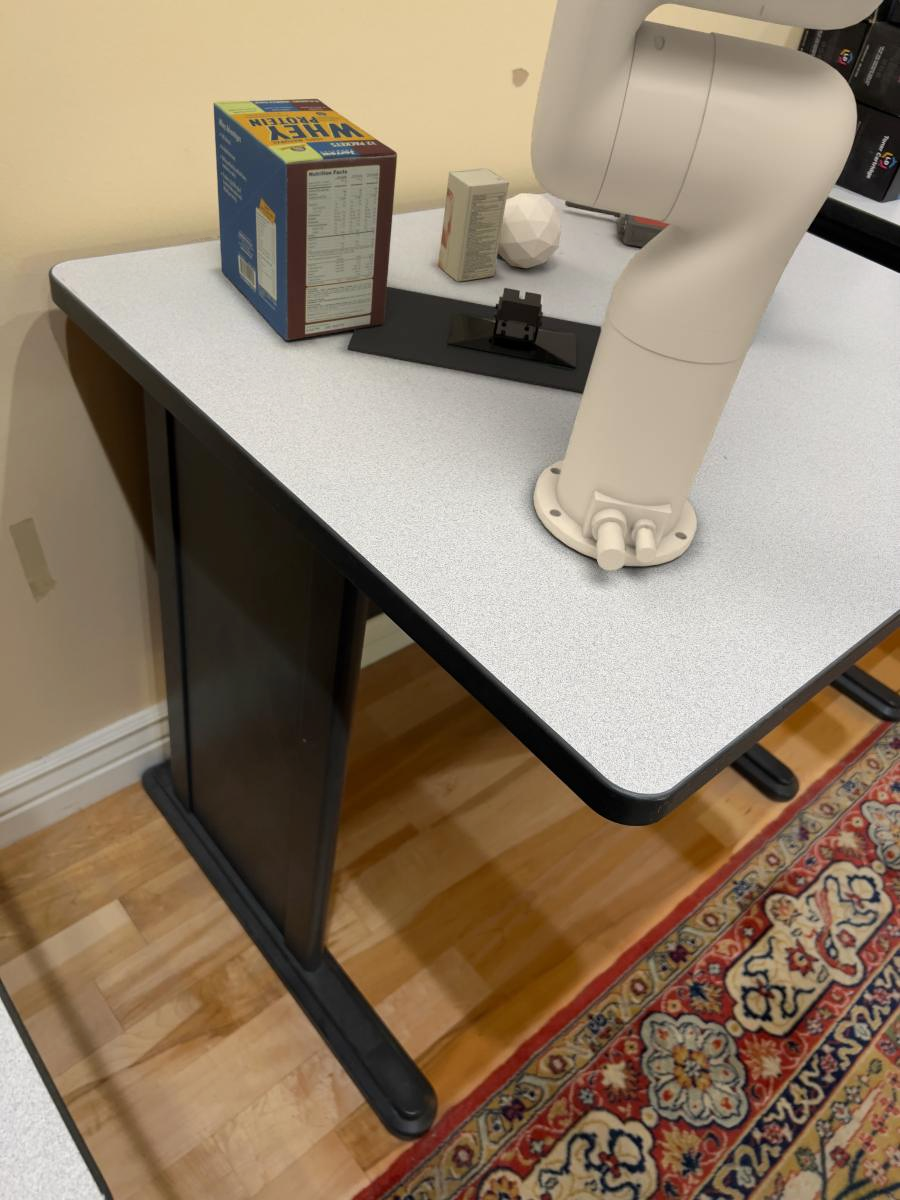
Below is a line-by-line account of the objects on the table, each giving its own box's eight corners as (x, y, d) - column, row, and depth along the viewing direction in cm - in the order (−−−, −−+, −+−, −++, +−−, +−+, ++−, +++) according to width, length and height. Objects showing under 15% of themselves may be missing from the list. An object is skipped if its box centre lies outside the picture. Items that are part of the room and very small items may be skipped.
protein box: (313, 260, 93) (317, 96, 83) (385, 326, 85) (400, 153, 74) (218, 271, 89) (210, 99, 78) (284, 343, 80) (285, 160, 69)
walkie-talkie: (711, 238, 117) (562, 209, 116) (723, 203, 114) (570, 174, 113) (719, 264, 111) (562, 234, 110) (732, 228, 108) (571, 197, 107)
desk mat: (604, 397, 82) (605, 394, 82) (347, 349, 81) (347, 346, 81) (600, 329, 92) (600, 326, 92) (372, 286, 91) (372, 283, 91)
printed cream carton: (473, 260, 100) (489, 166, 93) (494, 277, 97) (512, 182, 91) (434, 265, 97) (447, 169, 91) (455, 282, 95) (470, 185, 88)
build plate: (574, 338, 89) (586, 294, 86) (574, 373, 84) (588, 327, 81) (453, 314, 89) (461, 268, 86) (446, 347, 83) (454, 301, 80)
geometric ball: (532, 288, 104) (586, 245, 99) (491, 275, 97) (546, 228, 93) (508, 232, 105) (560, 187, 100) (467, 216, 99) (520, 168, 94)
